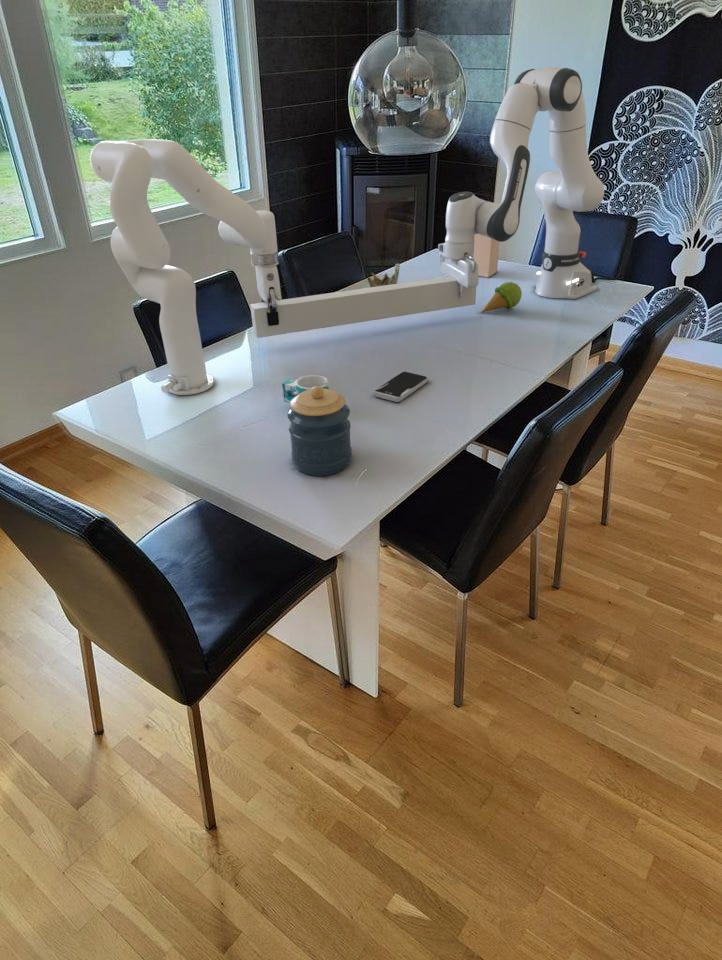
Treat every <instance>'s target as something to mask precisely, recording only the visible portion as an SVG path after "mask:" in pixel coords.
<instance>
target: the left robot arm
mask: <svg viewBox="0 0 722 960" xmlns="http://www.w3.org/2000/svg"><path fill="white" fill-rule="evenodd" d="M89 164H90V166H91V169H92V171H93V172H94V174H95V175H96V176H97V177H98V178H100V179H101V180H103V181H105V182H109V183H111V185H110V189H109V198H108V206H109V211H110V215H111V216H112V218H113V221H114V223H115V225H116V227H114V229H113V230H112V232H111V235H110V249H111V253H112V254H113V257H114V259H115V260H116V263H117V264H118V266H119V267H120V269H121V271H122V272H123V274H124V276H125V277H126V279H127V280H128V282H129V284H130V285H131V286H132V288H133V290H134V291H135V292H136V293H137V294H138V295H139V296H140V297H142V298H143V299H145V300H148V301H150V302H154V303H157V304H160V312H159V318H158V322H159V329H160V330H159V331H160V333H161V339H162V344H163V348H164V354H165V358H166V363H167V368H168V373H169V374H168V375H167V378H168V380H167V381H166V383H164V384H163V385H162V386H161V387H160V390H161V391H162V393H171V394H173V395H176V396H177V395H178V396H190V395H197V394H201V393H203V392H206V391H208V390H210V389H211V388H212V387H213V385H214V383H215V380H214V377H213V376H212V375H211V374H209V373H207V368H206V362H205V356H204V351H203V345H202V340H201V333H200V327H199V322H198V316H197V304H196V303H197V289H196V282H195V280H194V279H193V277H192V276H191V275H190V273H188V272H187V271H185V270H184V269H182V268H179V267H177V266H173V265H169V264H168V263H170V261H171V256H172V252H171V247H170V244H169V242H168V240H167V238H166V236H165V234H164V232H163V230H162V229H161V227H160V225H159V223H158V222H157V219H156V218H155V216H154V213H153V212H152V209H151V208H150V204H149V202H148V201H149V200H148V189H149V186H150V182H151V179H158V180H163V181H165V182H166V183H167V184H168V185H169V186H170V187H171V188H172V189H174V191H176V193H177V194H179V195H180V196H181V197H182V198H183V200H184V201H186V202H187V204H189V205H190V207H192V208H193V209H195V211H198V212H200V213H202V214H204V215H206V216H209V217H211V218H213V219H216V220H219V223H218V227H217V230H218V235H219V236H220V239H222V241H224V242H226V243H227V244H230V245H234V246H239V247H244V248H249V251H250V261H251V266H252V267H254V268H255V278H256V287H257V292H258V293H257V294H258V295H259V297H260V299H261V303H262V302H266V304H267V310H268V312H267V320H268V325H269V326H273V325H279V316H278V308H277V300H279V301H281V300H283V298H282V291H281V283H280V276H279V270H278V267H277V266H278V265H279V264H280V261H279V251H278V238H277V228H276V219H275V215H274V212H272V211H270V210H265V209H263V210H262V209H260V210H255V208H254V207H252V206H251V205H250V204H249V203H248V202H247V201H245V200H244V199H243V198H241V197H239V196H238V195H237V194H235V193H233V192H232V191H231V190H229V188H227V187H225V186H224V185H222V184H220V183H219V182H218V181H217V180H215V178H213V176H212V175H210V173H209V172H208V171H207V170H206V169H205V168H204V167H203V166H202V165H201V163H199V162H198V160H197V159H195V157H194V156H192V154H191V153H190V152H189V151H188V150H187V149H186V148H185V147H184V146H183V145H182V144H180V143H179V142H177V141H174V140H168V139H158V138H157V139H156V138H147V139H146V138H145V139H132V140H127V139H126V140H102V141H99V142H98V143H97V144H95V145H94V146H93V148H91V152H90V154H89ZM269 303H271V305H270V306H269Z"/></svg>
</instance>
